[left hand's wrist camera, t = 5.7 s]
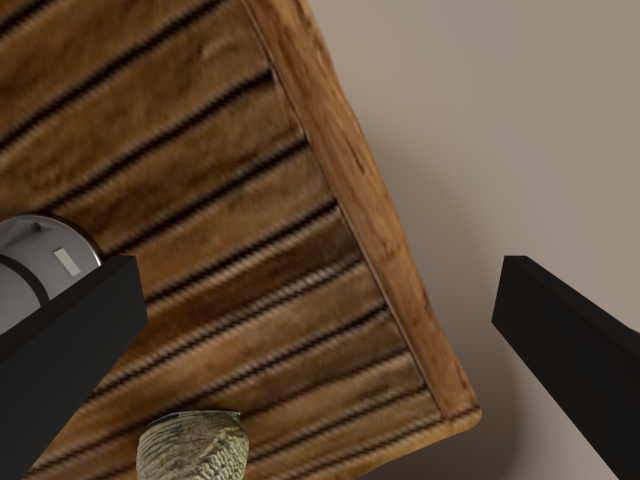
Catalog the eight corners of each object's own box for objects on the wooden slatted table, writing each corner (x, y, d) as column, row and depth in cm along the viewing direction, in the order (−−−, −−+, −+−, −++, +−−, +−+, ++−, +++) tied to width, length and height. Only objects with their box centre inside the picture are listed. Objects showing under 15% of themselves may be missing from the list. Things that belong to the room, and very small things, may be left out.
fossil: (262, 428, 58) (244, 531, 44) (165, 458, 60) (118, 565, 46) (238, 389, 55) (210, 486, 41) (137, 423, 57) (77, 524, 43)
